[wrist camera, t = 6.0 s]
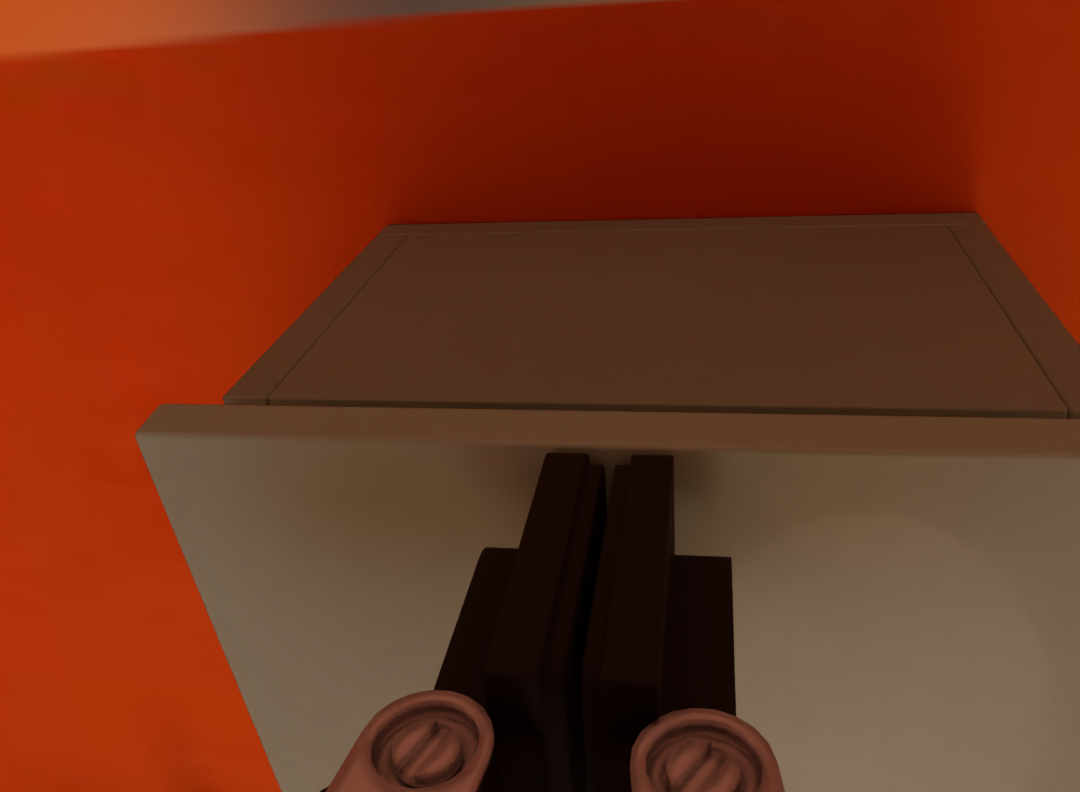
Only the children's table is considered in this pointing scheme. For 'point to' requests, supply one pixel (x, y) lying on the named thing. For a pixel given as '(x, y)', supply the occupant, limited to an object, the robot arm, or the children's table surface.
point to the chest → (681, 321)
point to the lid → (700, 529)
